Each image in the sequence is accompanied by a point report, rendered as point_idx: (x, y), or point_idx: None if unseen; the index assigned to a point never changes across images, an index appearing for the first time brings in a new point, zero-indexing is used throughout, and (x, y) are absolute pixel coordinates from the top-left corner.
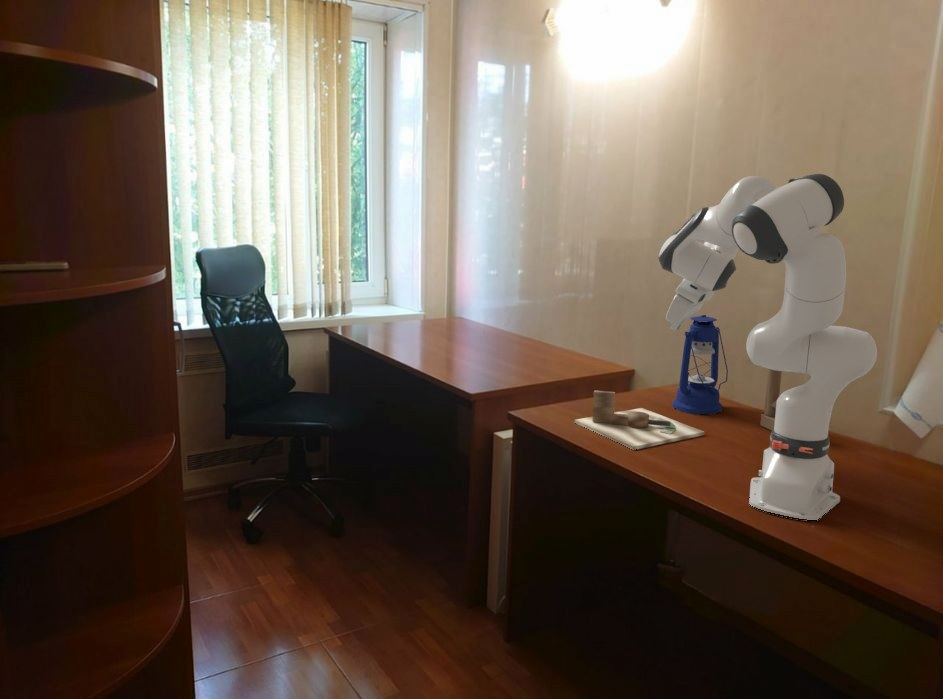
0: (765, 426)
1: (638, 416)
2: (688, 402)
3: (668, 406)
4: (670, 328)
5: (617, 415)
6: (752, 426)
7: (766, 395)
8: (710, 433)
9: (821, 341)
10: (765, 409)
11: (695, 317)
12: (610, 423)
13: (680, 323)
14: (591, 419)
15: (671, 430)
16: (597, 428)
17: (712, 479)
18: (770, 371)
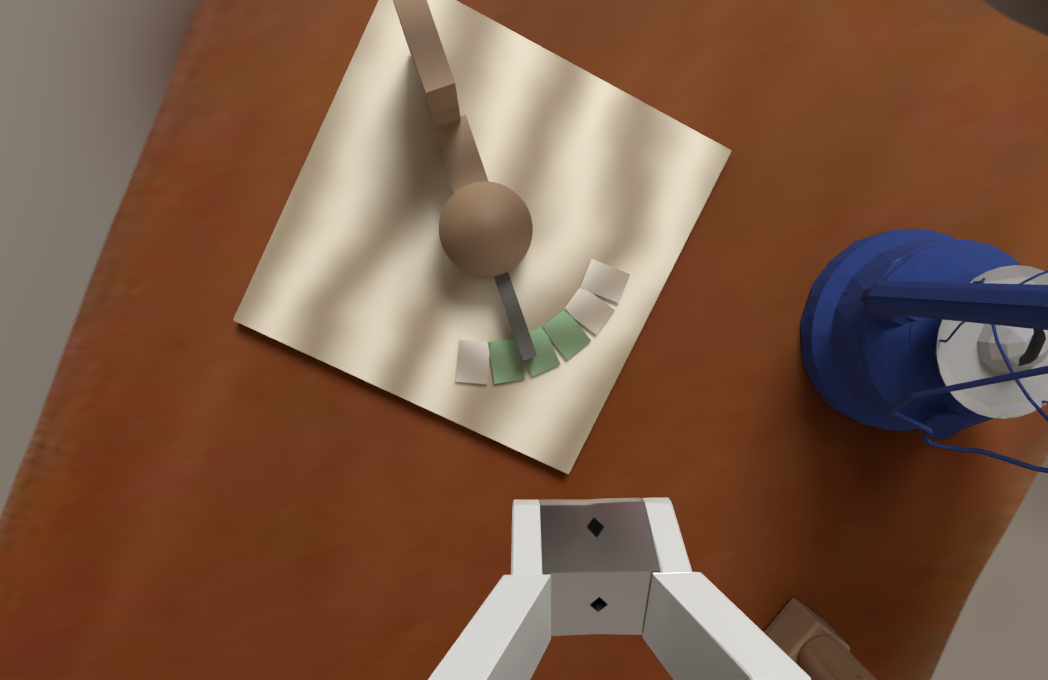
0: (775, 622)
1: (460, 239)
2: (840, 323)
3: (850, 225)
4: (514, 504)
5: (446, 144)
6: (769, 576)
7: None
8: (600, 481)
9: None
10: (820, 656)
11: None
12: None
13: (655, 638)
14: (444, 30)
15: (495, 372)
16: (346, 107)
17: (150, 634)
18: None
